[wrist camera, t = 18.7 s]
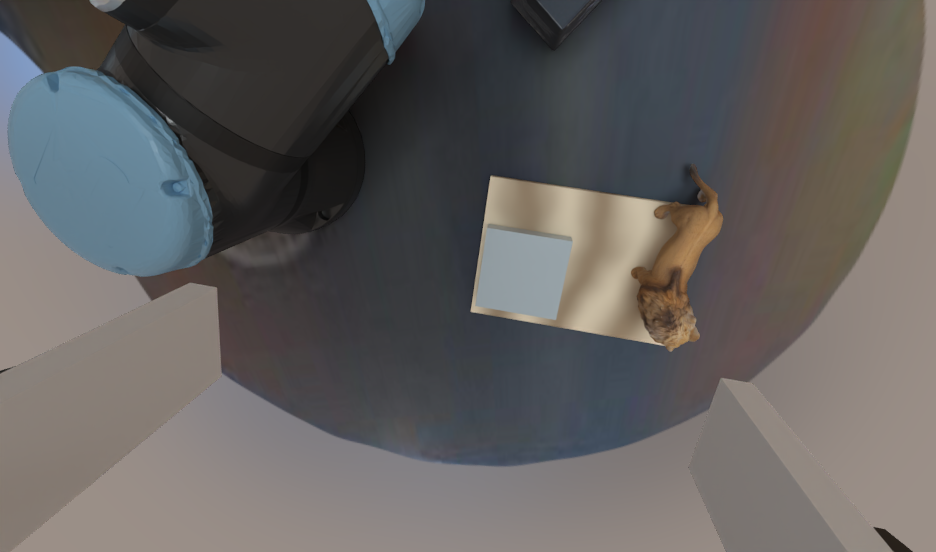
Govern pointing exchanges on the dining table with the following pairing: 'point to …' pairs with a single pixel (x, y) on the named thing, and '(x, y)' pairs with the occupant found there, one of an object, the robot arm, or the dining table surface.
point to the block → (523, 271)
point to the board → (585, 250)
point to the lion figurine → (677, 269)
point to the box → (554, 17)
